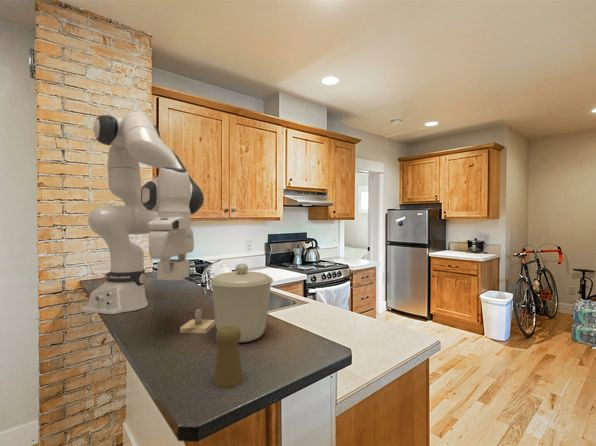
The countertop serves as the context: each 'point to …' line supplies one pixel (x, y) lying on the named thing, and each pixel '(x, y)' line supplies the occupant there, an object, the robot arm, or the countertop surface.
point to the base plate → (197, 324)
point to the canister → (242, 301)
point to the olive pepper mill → (228, 357)
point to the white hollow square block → (174, 270)
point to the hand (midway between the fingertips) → (174, 271)
